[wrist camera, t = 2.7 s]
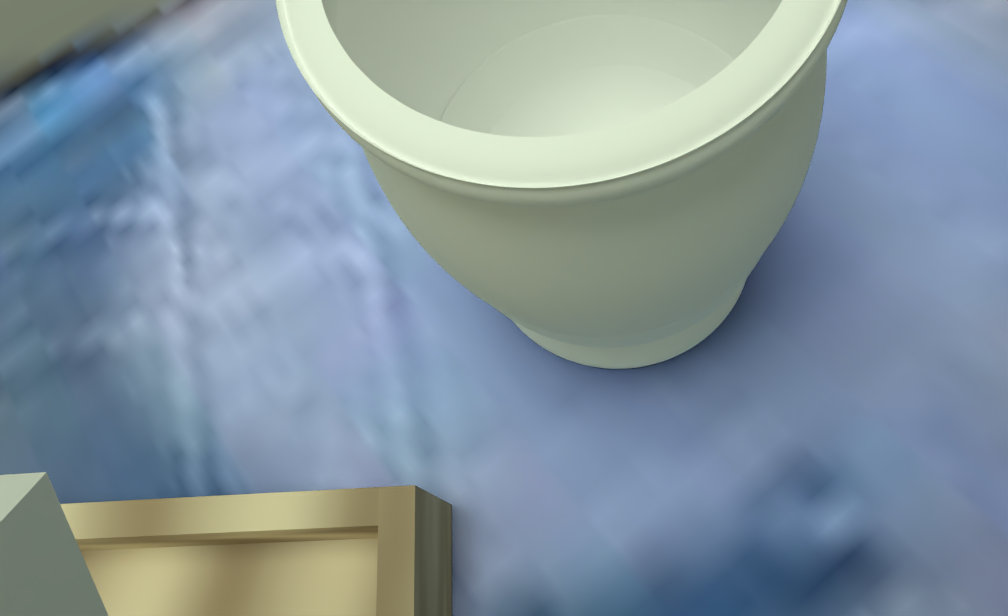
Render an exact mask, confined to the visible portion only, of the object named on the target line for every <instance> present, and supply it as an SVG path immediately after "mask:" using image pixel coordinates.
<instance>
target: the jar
mask: <svg viewBox="0 0 1008 616" xmlns="http://www.w3.org/2000/svg"><path fill="white" fill-rule="evenodd" d="M846 3H847V0H276V5H277V11H278V16H279V20H280V24H281V28H282V31H283V34H284V37H285V40H286V43H287V45H288V48H289V50H290V52H291V55H292V57H293V59H294V61H295V63H296V65H297V66H298V68H299V70H300V72H301V73H302V75H303V77H304V78H305V80H306V81H307V83H308V84H309V86H310V87H311V89H312V90H313V91H314V93H315V95H316V96H317V98H318V99H319V101H320V102H321V104H322V105H323V106H324V108H325V109H326V110H327V112H328V113H329V114H330V115H331V116H332V117H333V119H334V120H335V121H336V122H337V123H338V124H339V125H340V126H341V127H342V129H343V130H344V131H345V132H346V133H347V134H348V135H349V136H350V137H351V138H352V139H354V140H355V141H356V142H357V143H358V144H359V145H360V146H362V148H363V150H364V153H365V155H366V157H367V160H368V162H369V164H370V166H371V168H372V170H373V172H374V174H375V176H376V178H377V180H378V182H379V184H380V186H381V188H382V190H383V192H384V193H385V195H386V197H387V198H388V200H389V202H390V203H391V205H392V207H393V208H394V210H395V211H396V213H397V214H398V216H399V217H400V219H401V220H402V222H403V223H404V225H405V226H406V227H407V229H408V230H409V231H410V233H411V234H412V235H413V236H414V238H415V239H416V240H417V241H418V242H419V244H420V245H421V246H422V247H423V248H424V249H425V251H426V252H427V253H428V254H429V255H430V256H431V257H432V258H433V259H434V260H435V261H436V262H437V263H438V264H439V265H440V266H441V267H442V268H443V269H444V270H445V271H446V272H447V273H448V274H450V275H451V276H452V277H453V278H454V279H455V280H457V281H458V282H459V283H460V284H461V285H463V286H464V287H465V288H467V289H468V290H469V291H471V292H472V293H473V294H475V295H476V296H478V297H479V298H480V299H482V300H483V301H485V302H486V303H488V304H490V305H491V306H493V307H494V308H495V309H497V310H498V311H499V312H501V313H502V314H504V315H505V316H506V317H508V318H510V319H511V320H512V321H513V322H514V323H515V324H516V325H517V327H518V328H519V329H520V330H521V331H522V332H523V333H525V334H526V335H527V336H528V337H529V338H530V339H532V340H533V341H534V342H535V343H537V344H538V345H540V346H541V347H543V348H544V349H546V350H548V351H550V352H551V353H553V354H555V355H557V356H560V357H562V358H564V359H567V360H570V361H573V362H576V363H579V364H583V365H587V366H592V367H599V368H609V369H625V368H636V367H642V366H647V365H652V364H656V363H659V362H662V361H665V360H668V359H670V358H673V357H675V356H677V355H679V354H681V353H683V352H685V351H687V350H689V349H691V348H692V347H694V346H695V345H697V344H698V343H700V342H701V341H702V340H704V339H705V338H706V337H707V336H709V335H710V334H711V333H712V332H713V331H714V330H715V329H716V328H717V327H718V326H719V325H720V324H721V323H722V322H723V320H724V319H725V318H726V317H727V315H728V314H729V313H730V311H731V310H732V308H733V307H734V305H735V303H736V302H737V300H738V298H739V296H740V294H741V292H742V290H743V287H744V285H745V282H746V279H747V277H748V276H749V274H750V273H751V272H752V270H753V269H754V267H755V266H756V264H757V263H758V261H759V260H760V258H761V256H762V254H763V253H764V252H765V250H766V249H767V248H768V246H769V245H770V243H771V242H772V241H773V239H774V238H775V236H776V235H777V233H778V232H779V230H780V228H781V227H782V225H783V223H784V222H785V220H786V218H787V216H788V215H789V213H790V211H791V209H792V207H793V205H794V203H795V201H796V199H797V196H798V194H799V192H800V190H801V187H802V185H803V182H804V180H805V177H806V174H807V171H808V169H809V166H810V162H811V159H812V156H813V152H814V149H815V145H816V141H817V137H818V132H819V127H820V122H821V116H822V110H823V103H824V94H825V82H826V59H827V47H828V45H829V43H830V41H831V39H832V37H833V35H834V33H835V31H836V29H837V27H838V24H839V22H840V20H841V17H842V15H843V12H844V9H845V6H846Z"/></svg>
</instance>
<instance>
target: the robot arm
mask: <svg viewBox="0 0 1008 616" xmlns="http://www.w3.org/2000/svg"><path fill="white" fill-rule="evenodd" d="M0 616H108V613H107V611H106V609H105V606H104V604H103V602H102V599H101V597H100V595H99V593H98V590H97V588H96V586H95V583H94V581H93V579H92V576H91V574H90V572H89V569H88V567H87V565H86V563H85V560H84V558H83V556H82V553H81V551H80V549H79V546H78V544H77V542H76V539H75V537H74V535H73V533H72V530H71V528H70V526H69V523H68V521H67V519H66V516H65V514H64V512H63V509H62V507H61V505H60V503H59V500H58V498H57V496H56V493H55V491H54V489H53V486H52V484H51V482H50V479H49V477H48V475H47V472H43V473H27V474H11V475H0Z"/></svg>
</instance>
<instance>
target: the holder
mask: <svg viewBox="0 0 1008 616" xmlns="http://www.w3.org/2000/svg"><path fill="white" fill-rule="evenodd" d="M60 505H61V507H62V509H63V512H64V514H65V516H66V519H67V521H68V523H69V526H70V528H71V530H72V533H73V535H74V537H75V539H76V542H77V544H78V546H79V549H80V551H81V553H82V556H83V558H84V560H85V563H86V565H87V567H88V569H89V572H90V574H91V576H92V579H93V581H94V583H95V586H96V588H97V590H98V593H99V595H100V597H101V599H102V602H103V604H104V606H105V609H106V611H107V613H108V616H452V516H451V504H449V503H447V502H445V501H443V500H441V499H440V498H438V497H436V496H434V495H432V494H430V493H428V492H427V491H425V490H423V489H421V488H419V487H417V486H415V485H412V486H393V487H374V488H356V489H337V490H318V491H299V492H280V493H261V494H242V495H223V496H204V497H186V498H167V499H148V500H129V501H110V502H91V503H72V504H60Z"/></svg>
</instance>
